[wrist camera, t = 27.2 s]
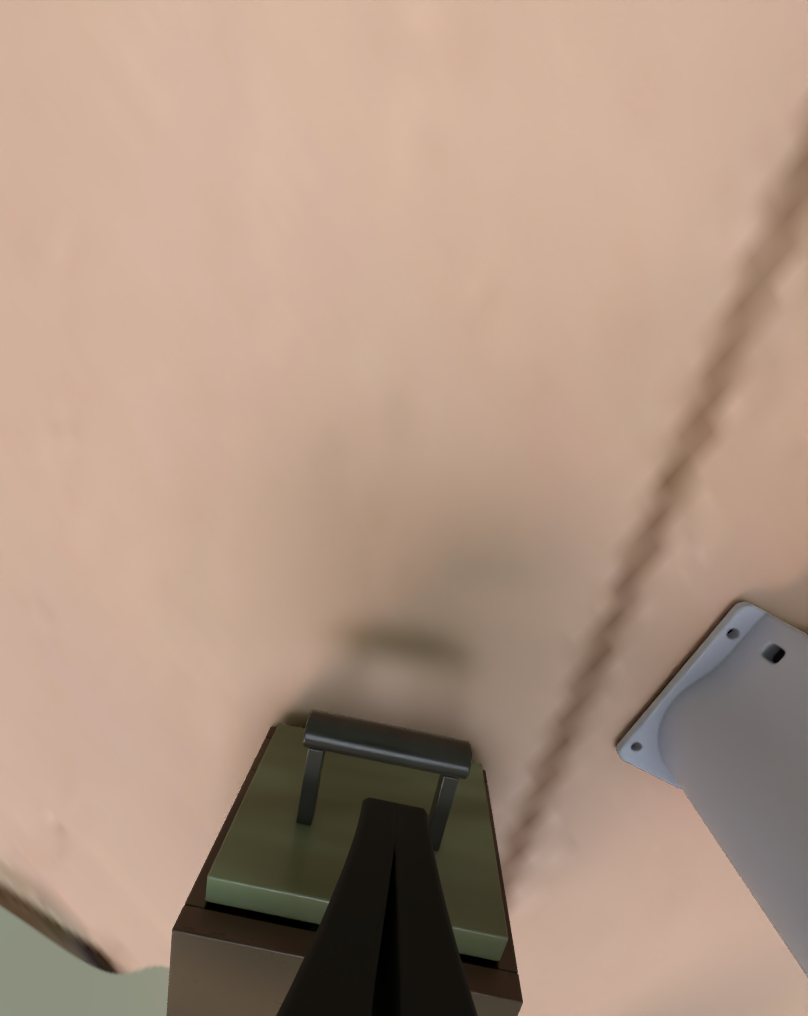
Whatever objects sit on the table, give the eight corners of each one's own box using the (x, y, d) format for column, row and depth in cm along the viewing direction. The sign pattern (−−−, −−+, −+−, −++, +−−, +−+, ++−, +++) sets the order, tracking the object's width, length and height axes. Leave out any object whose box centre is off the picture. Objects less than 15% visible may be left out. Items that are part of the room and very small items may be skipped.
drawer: (290, 637, 19) (216, 761, 12) (506, 681, 19) (550, 829, 12) (254, 900, 23) (186, 1095, 16) (430, 935, 23) (431, 1146, 16)
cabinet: (270, 726, 21) (171, 930, 13) (485, 770, 21) (523, 1002, 13) (247, 906, 24) (156, 1159, 16) (432, 944, 24) (435, 1217, 16)
